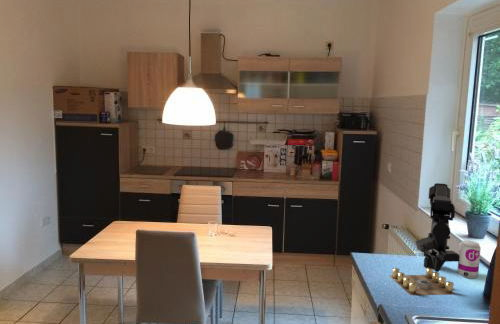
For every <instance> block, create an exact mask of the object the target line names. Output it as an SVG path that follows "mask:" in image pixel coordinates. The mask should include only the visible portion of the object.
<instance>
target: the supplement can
mask: <svg viewBox="0 0 500 324" xmlns="http://www.w3.org/2000/svg"><path fill="white" fill-rule="evenodd" d="M458 246H459V249H458V255H459V256H460V260H459V261H457V274H459V275H460V276H461V277H463V278H467V279H476V278H478V276H479V270H480V260H481V259H480V258H481V246H480V244H479V243H478V242H476V241H473V240H467V239H466V240H462V241H461V242H460V243H459V245H458Z"/></svg>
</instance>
